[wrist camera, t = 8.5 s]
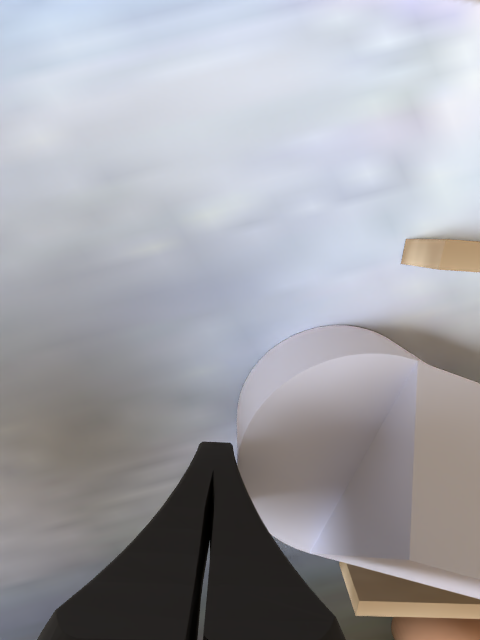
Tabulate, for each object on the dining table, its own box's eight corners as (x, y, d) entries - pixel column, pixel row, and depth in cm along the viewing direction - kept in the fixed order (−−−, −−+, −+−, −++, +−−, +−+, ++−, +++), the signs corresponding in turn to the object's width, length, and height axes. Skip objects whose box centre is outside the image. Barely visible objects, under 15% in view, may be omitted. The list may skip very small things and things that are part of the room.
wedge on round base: (532, 389, 14) (279, 296, 13) (782, 516, 8) (326, 356, 6) (436, 529, 16) (211, 463, 15) (569, 720, 10) (194, 634, 8)
